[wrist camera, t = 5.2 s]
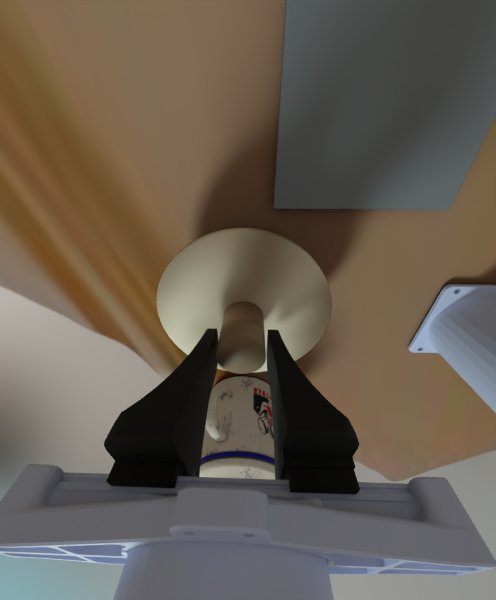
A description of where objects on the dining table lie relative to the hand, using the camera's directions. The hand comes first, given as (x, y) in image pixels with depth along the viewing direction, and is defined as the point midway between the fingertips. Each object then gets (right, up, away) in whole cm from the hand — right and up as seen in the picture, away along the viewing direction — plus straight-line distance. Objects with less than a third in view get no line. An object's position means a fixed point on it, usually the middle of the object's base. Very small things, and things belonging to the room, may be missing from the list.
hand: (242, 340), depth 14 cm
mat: (+8, +14, -2) cm, 17 cm away
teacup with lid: (-1, -9, +14) cm, 16 cm away
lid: (0, +2, +2) cm, 2 cm away
